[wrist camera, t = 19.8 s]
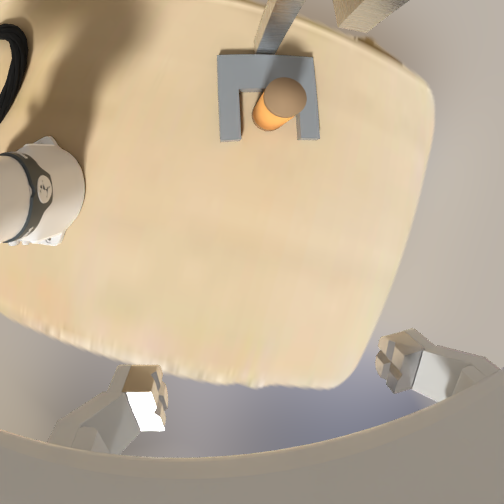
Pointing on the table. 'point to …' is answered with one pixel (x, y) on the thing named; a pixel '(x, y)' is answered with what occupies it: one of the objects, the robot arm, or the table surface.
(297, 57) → the grey u-shaped bracket
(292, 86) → the orange brown canister
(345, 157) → the table surface
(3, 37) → the cable lock
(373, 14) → the hook stand
